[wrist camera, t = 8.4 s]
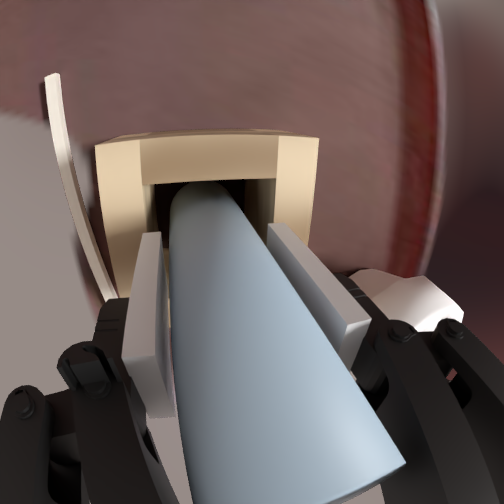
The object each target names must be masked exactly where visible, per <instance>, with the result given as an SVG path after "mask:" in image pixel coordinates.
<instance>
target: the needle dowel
mask: <svg viewBox="0 0 504 504" xmlns="http://www.w3.org/2000/svg"><path fill="white" fill-rule="evenodd" d="M169 300H170V326H171V344H172V359H173V371H174V383H175V393H176V402H177V410H178V419H179V425H180V433H181V440H182V447H183V453H184V459H185V465H186V470H187V476H188V481H189V486H190V491H191V495H192V500H193V504H341V503H343V502H346V501H348V500H350V499H352V498H354V497H356V496H358V495H360V494H362V493H364V492H366V491H368V490H369V489H371V488H373V487H375V486H376V485H378V484H380V483H381V482H383V481H384V480H386V479H388V478H389V477H391V476H392V475H393V474H395V473H396V472H398V471H399V470H400V469H401V468H403V467H404V466H405V465H406V462H405V460H404V458H403V457H402V455H401V453H400V452H399V450H398V449H397V447H396V445H395V444H394V442H393V441H392V439H391V437H390V436H389V434H388V433H387V431H386V429H385V428H384V426H383V425H382V423H381V421H380V420H379V418H378V417H377V415H376V414H375V412H374V410H373V409H372V407H371V406H370V404H369V403H368V401H367V399H366V398H365V396H364V395H363V393H362V392H361V390H360V388H359V387H358V385H357V384H356V382H355V381H354V379H353V378H352V376H351V374H350V373H349V371H348V370H347V368H346V367H345V365H344V364H343V362H342V360H341V359H340V357H339V356H338V354H337V353H336V351H335V350H334V348H333V347H332V345H331V344H330V342H329V341H328V339H327V337H326V336H325V334H324V333H323V331H322V330H321V328H320V327H319V325H318V324H317V322H316V321H315V319H314V318H313V316H312V315H311V313H310V312H309V310H308V309H307V307H306V306H305V304H304V303H303V301H302V300H301V298H300V297H299V295H298V294H297V292H296V291H295V289H294V288H293V286H292V285H291V283H290V282H289V280H288V279H287V277H286V276H285V274H284V273H283V271H282V270H281V268H280V267H279V265H278V264H277V262H276V261H275V259H274V258H273V256H272V255H271V253H270V252H269V250H268V249H267V247H266V246H265V244H264V243H263V241H262V240H261V238H260V237H259V236H258V234H257V233H256V231H255V230H254V228H253V227H252V225H251V224H250V222H249V221H248V219H247V218H246V216H245V215H244V214H243V212H242V211H241V209H240V208H239V206H238V205H237V203H236V202H235V200H234V199H233V198H232V196H231V195H230V193H229V192H228V191H227V190H226V188H224V187H223V186H222V185H220V184H218V183H216V182H213V181H209V180H205V181H194V182H191V183H189V184H187V185H185V186H184V187H182V188H181V189H180V190H179V191H178V192H177V194H176V195H175V197H174V198H173V201H172V203H171V208H170V229H169Z"/></svg>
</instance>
